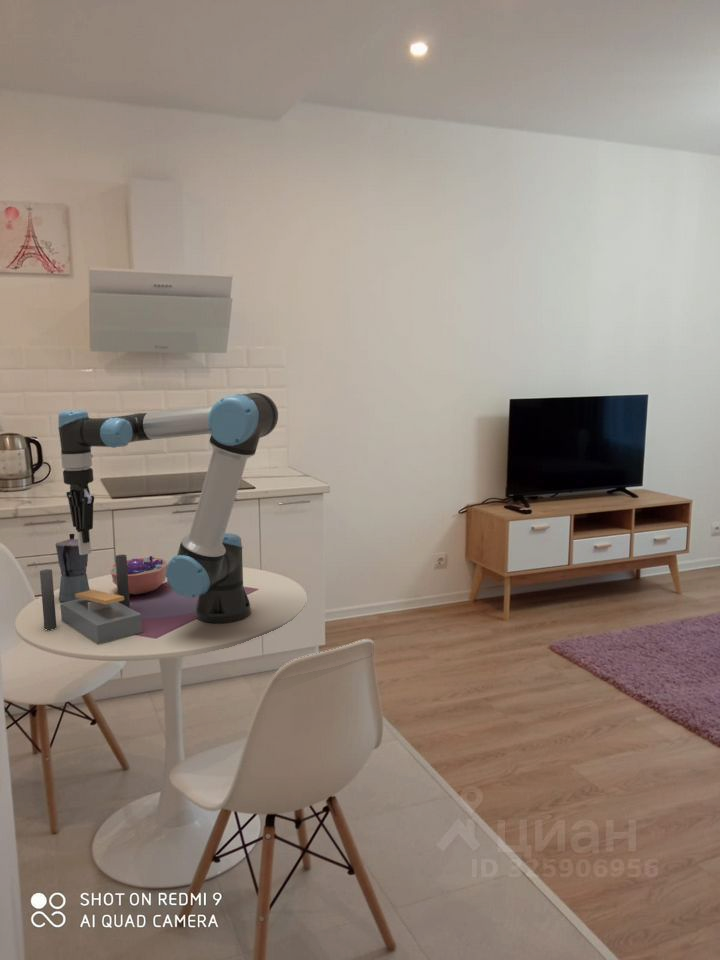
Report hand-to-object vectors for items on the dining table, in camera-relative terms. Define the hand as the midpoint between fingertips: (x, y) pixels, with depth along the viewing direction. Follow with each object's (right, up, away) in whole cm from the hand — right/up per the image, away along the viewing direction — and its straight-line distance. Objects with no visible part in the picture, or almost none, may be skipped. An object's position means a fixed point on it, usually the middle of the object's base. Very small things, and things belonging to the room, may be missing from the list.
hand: (85, 553), depth 205 cm
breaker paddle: (+5, -11, -4) cm, 13 cm away
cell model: (+7, -15, +27) cm, 32 cm away
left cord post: (-8, -20, -4) cm, 22 cm away
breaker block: (+5, -19, -3) cm, 20 cm away
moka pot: (-10, -16, +20) cm, 27 cm away
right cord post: (+8, -17, +10) cm, 21 cm away
